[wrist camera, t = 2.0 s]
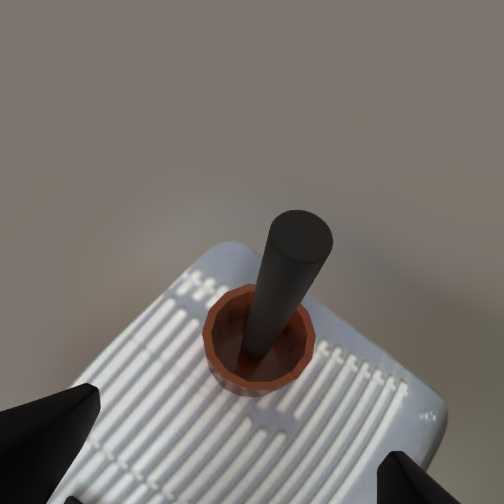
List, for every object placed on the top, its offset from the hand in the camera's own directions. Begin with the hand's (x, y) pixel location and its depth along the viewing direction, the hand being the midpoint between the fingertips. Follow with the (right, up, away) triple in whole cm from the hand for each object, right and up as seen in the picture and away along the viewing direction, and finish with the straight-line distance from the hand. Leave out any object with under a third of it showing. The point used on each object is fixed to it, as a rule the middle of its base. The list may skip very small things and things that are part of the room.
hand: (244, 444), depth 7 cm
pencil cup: (0, -2, +13) cm, 13 cm away
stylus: (0, -2, +13) cm, 13 cm away
